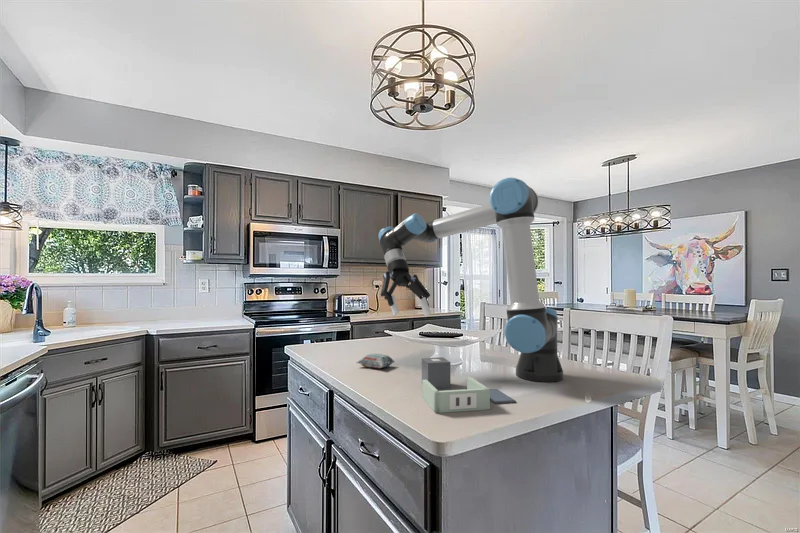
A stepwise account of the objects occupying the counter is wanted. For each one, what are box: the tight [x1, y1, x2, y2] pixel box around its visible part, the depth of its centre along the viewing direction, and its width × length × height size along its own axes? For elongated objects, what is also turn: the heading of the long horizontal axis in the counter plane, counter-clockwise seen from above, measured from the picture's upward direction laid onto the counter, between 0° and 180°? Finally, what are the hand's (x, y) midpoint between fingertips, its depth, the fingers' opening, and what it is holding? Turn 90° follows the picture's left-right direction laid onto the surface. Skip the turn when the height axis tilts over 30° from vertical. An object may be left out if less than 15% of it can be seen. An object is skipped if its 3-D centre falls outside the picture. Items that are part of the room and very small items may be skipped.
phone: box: [489, 388, 517, 405], centre depth 109 cm, size 6×12×1 cm, turn 11°
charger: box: [421, 357, 451, 390], centre depth 119 cm, size 7×7×8 cm
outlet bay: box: [421, 376, 491, 414], centre depth 103 cm, size 14×12×5 cm
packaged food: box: [355, 353, 395, 369], centre depth 144 cm, size 9×12×5 cm
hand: (412, 314), depth 134 cm, fingers open, 13 cm apart
